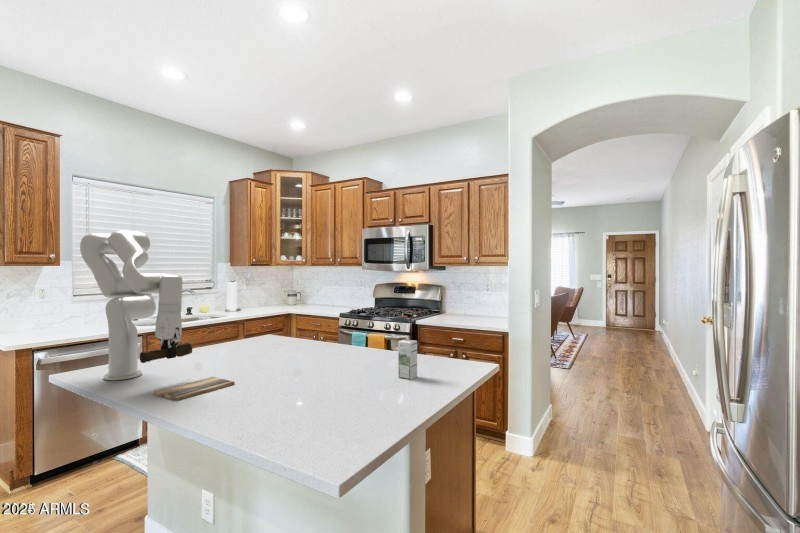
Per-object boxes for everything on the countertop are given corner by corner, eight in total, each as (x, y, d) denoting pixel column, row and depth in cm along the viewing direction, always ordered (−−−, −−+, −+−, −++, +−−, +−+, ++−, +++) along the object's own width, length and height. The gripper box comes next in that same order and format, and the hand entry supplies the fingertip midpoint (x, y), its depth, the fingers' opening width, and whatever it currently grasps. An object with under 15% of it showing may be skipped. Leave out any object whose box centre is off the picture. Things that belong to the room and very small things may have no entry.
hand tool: (144, 364, 143) (145, 351, 143) (138, 362, 145) (139, 349, 145) (195, 355, 159) (196, 343, 159) (189, 353, 161) (190, 341, 161)
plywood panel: (154, 394, 139) (154, 390, 139) (212, 379, 158) (212, 376, 158) (175, 400, 132) (175, 396, 132) (234, 384, 151) (234, 380, 151)
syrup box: (417, 376, 162) (417, 340, 162) (410, 380, 157) (410, 342, 157) (405, 374, 165) (405, 338, 165) (397, 377, 160) (397, 341, 160)
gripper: (147, 306, 153) (145, 355, 153) (172, 311, 144) (170, 362, 145) (167, 305, 159) (166, 352, 160) (192, 309, 151) (190, 358, 151)
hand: (168, 356), depth 152 cm, fingers closed on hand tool, 3 cm apart
